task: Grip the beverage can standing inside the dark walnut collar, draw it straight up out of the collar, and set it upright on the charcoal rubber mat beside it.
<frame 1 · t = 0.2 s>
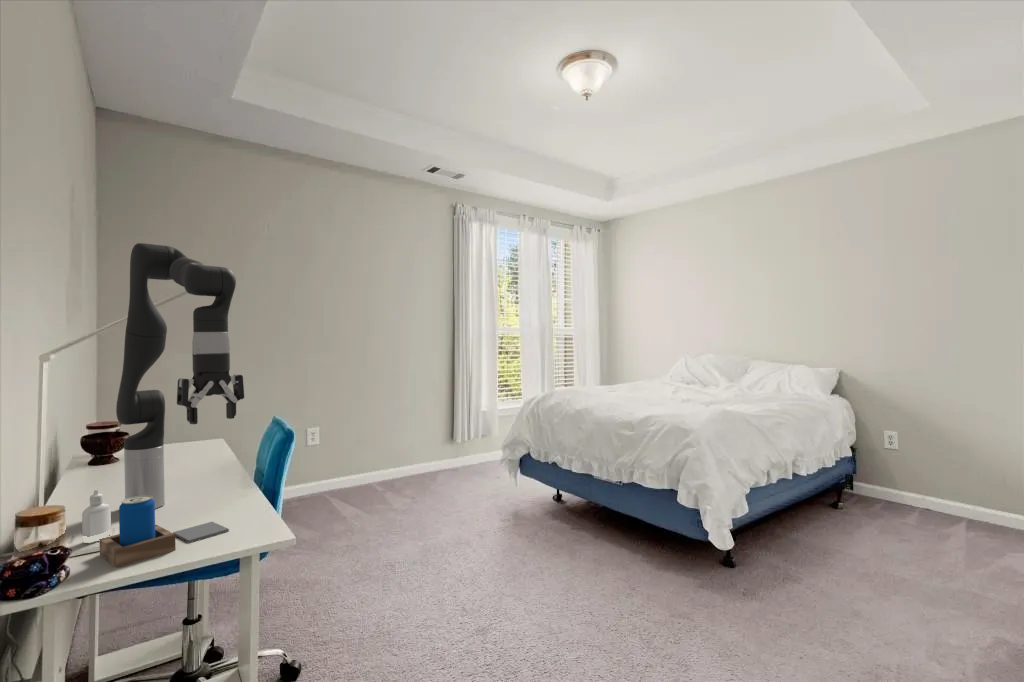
hand: (212, 421, 122), 28 cm above the table, tool pointing down, fingers open, 8 cm apart
walnut collar: (138, 552, 117), on the table
rubber mat: (201, 532, 128), on the table
beverage can: (138, 553, 117), resting in walnut collar
eye dropper bottle: (97, 540, 124), on the table
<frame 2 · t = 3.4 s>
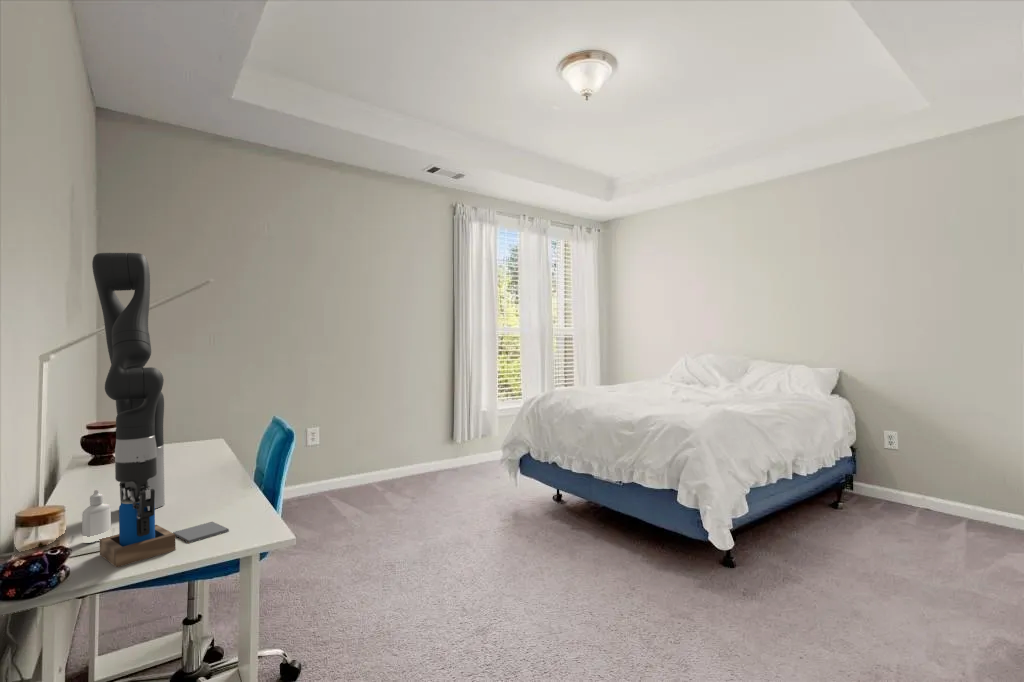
hand: (137, 531, 117), 5 cm above the table, tool pointing down, fingers closed on beverage can, 6 cm apart
beverage can: (137, 553, 117), resting in walnut collar, touching gripper
everything else where it was.
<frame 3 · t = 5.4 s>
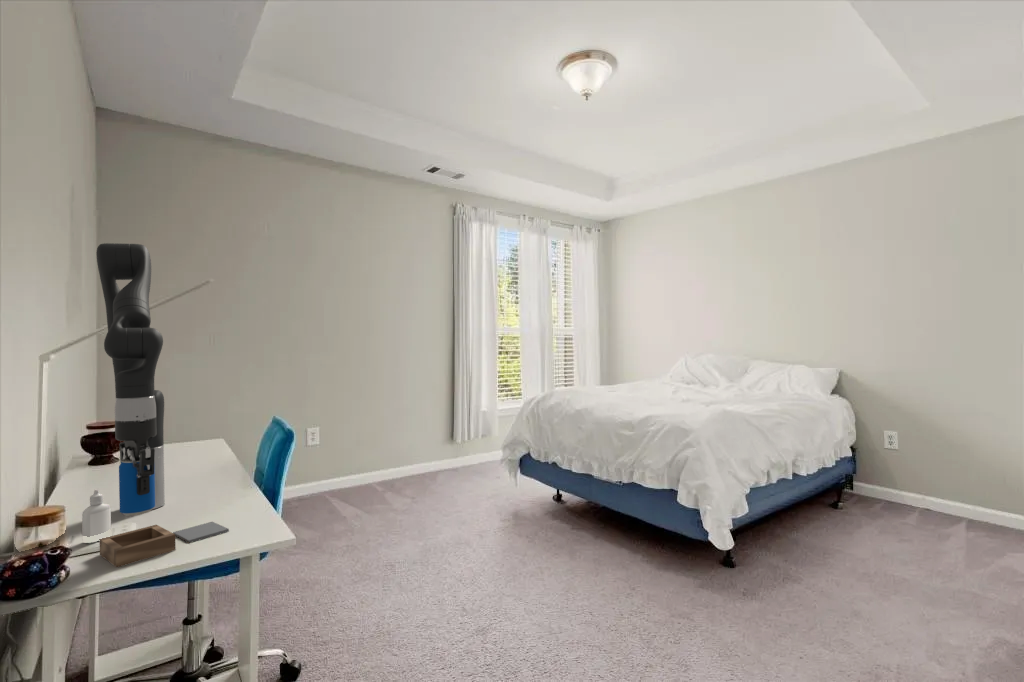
hand: (137, 491, 117), 14 cm above the table, tool pointing down, fingers closed on beverage can, 6 cm apart
beverage can: (137, 512, 117), point 9 cm above the table, touching gripper
everything else where it was.
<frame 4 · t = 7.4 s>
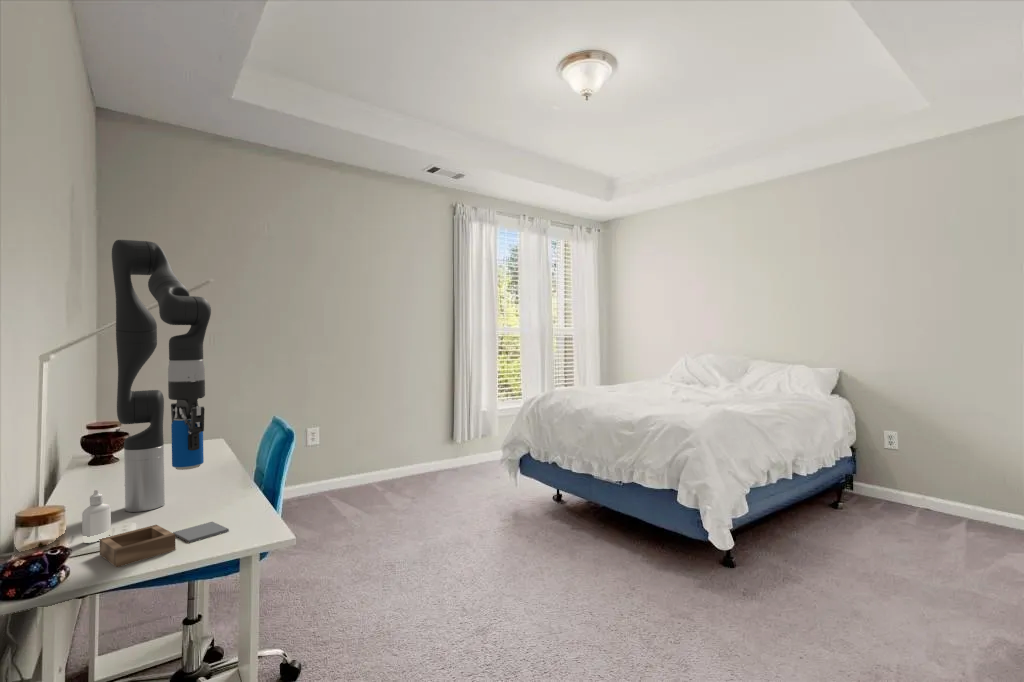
hand: (187, 447, 126), 21 cm above the table, tool pointing down, fingers closed on beverage can, 6 cm apart
beverage can: (188, 468, 126), point 17 cm above the table, touching gripper
everything else where it was.
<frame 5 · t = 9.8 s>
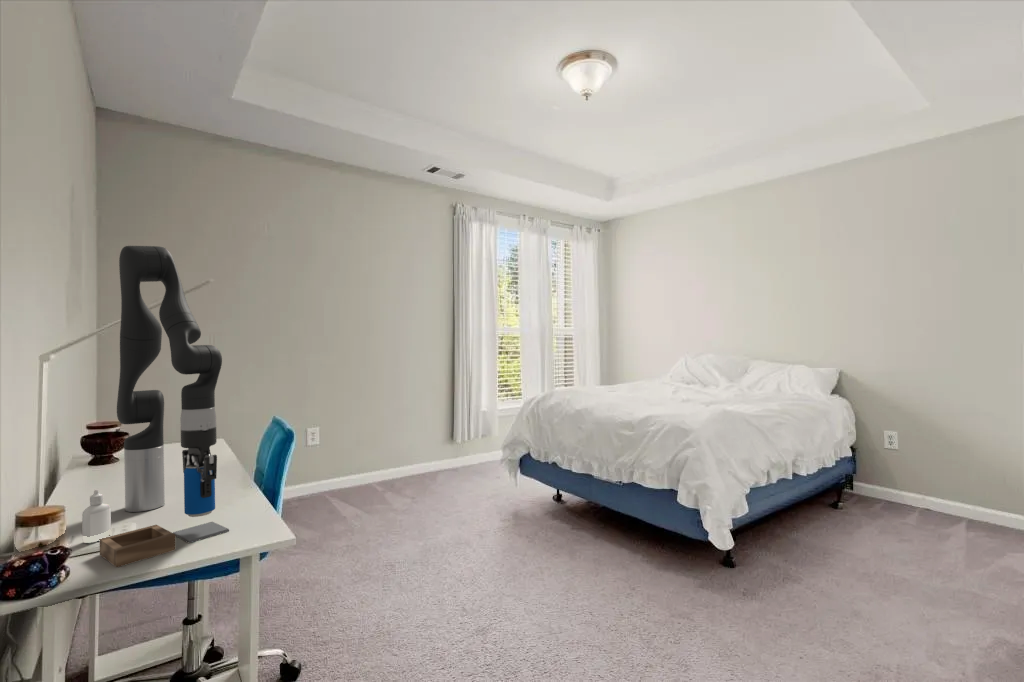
hand: (199, 494, 128), 10 cm above the table, tool pointing down, fingers closed on beverage can, 6 cm apart
beverage can: (200, 514, 128), point 5 cm above the table, touching gripper
everything else where it was.
when the fingers open (7 cm above the table, at t = 11.5 s): beverage can drops 1 cm, resting on rubber mat.
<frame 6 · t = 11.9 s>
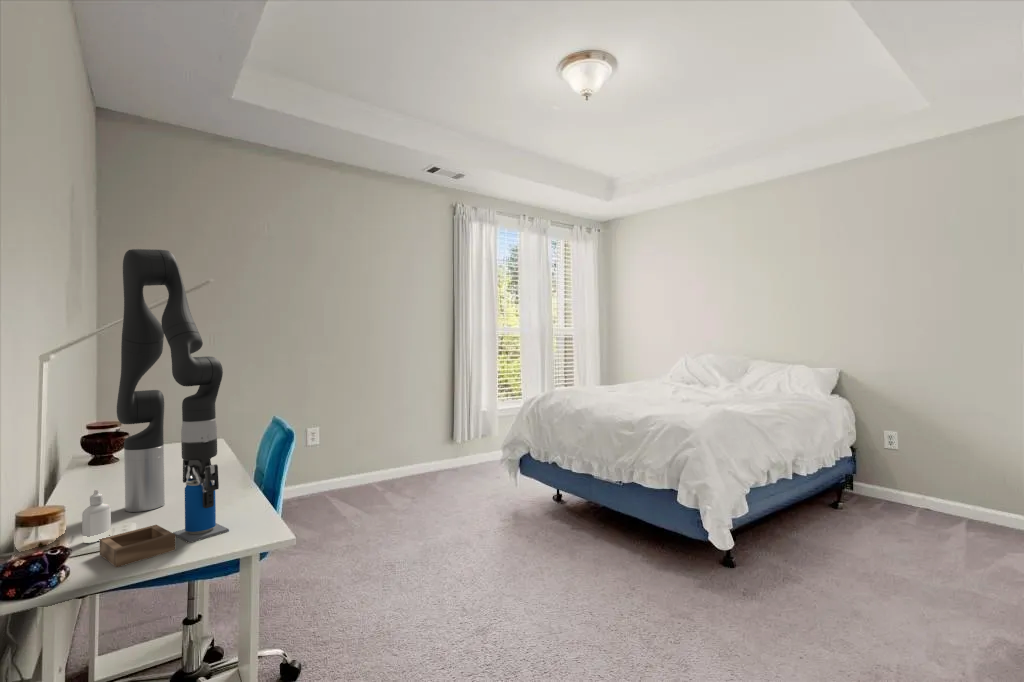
hand: (200, 504, 128), 7 cm above the table, tool pointing down, fingers open, 8 cm apart
beverage can: (200, 531, 128), resting on rubber mat
everything else where it was.
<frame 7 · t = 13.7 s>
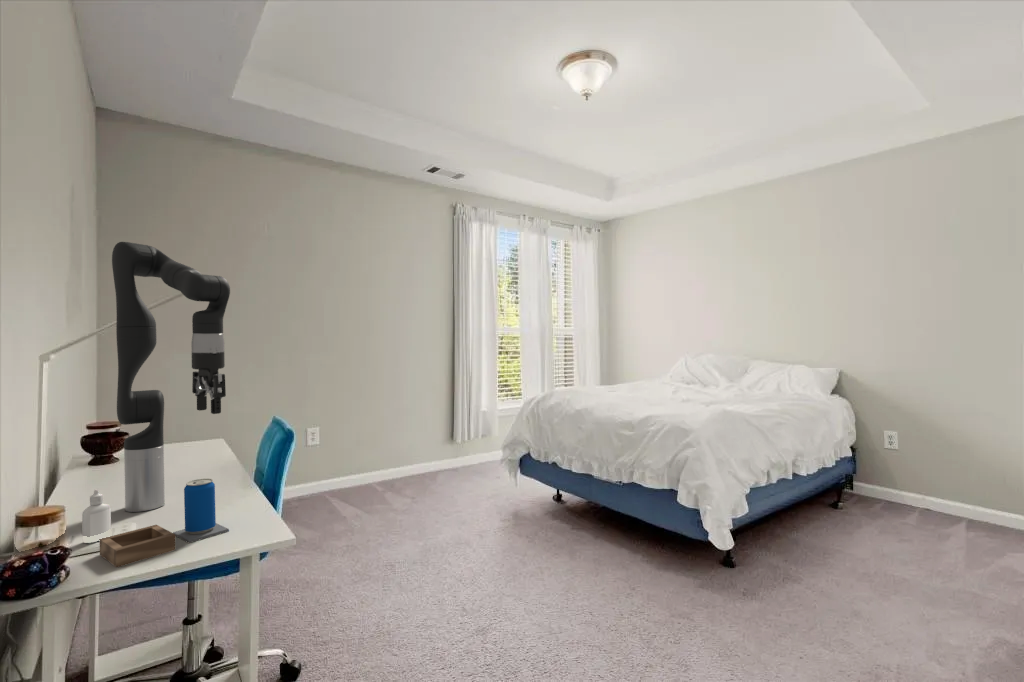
hand: (208, 411, 138), 28 cm above the table, tool pointing down, fingers open, 8 cm apart
nothing on the table moved.
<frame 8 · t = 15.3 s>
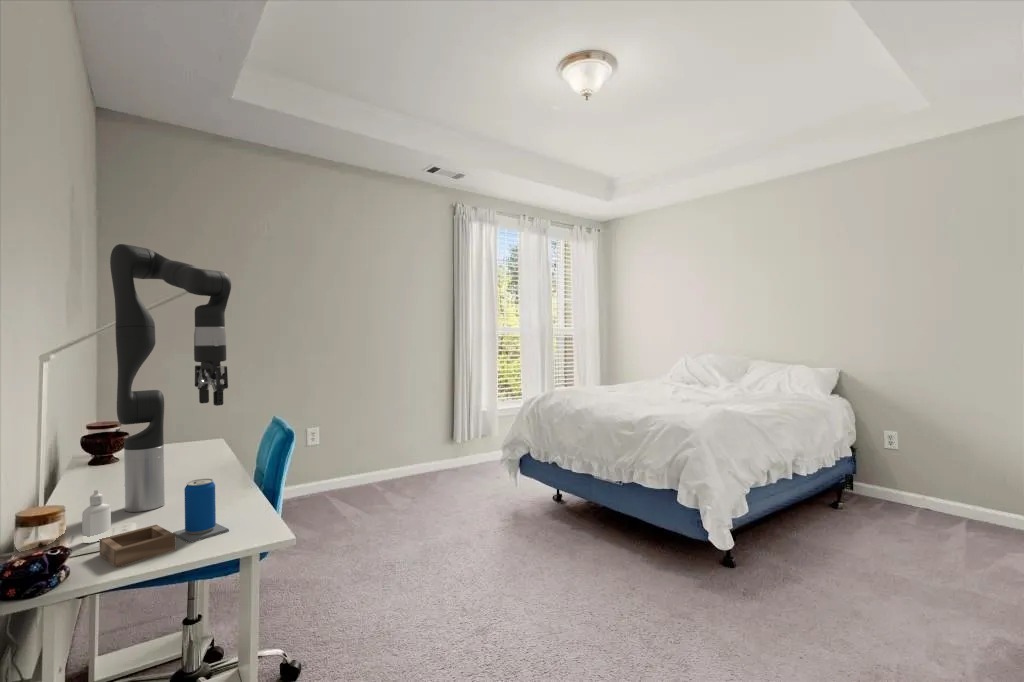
hand: (211, 404, 140), 30 cm above the table, tool pointing down, fingers open, 8 cm apart
nothing on the table moved.
at the end: beverage can inside the target area on the rubber mat (0.1 cm from its centre), point 0.4 cm above the rubber mat's base; beverage can tilted 0°; the gripper is holding nothing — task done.
